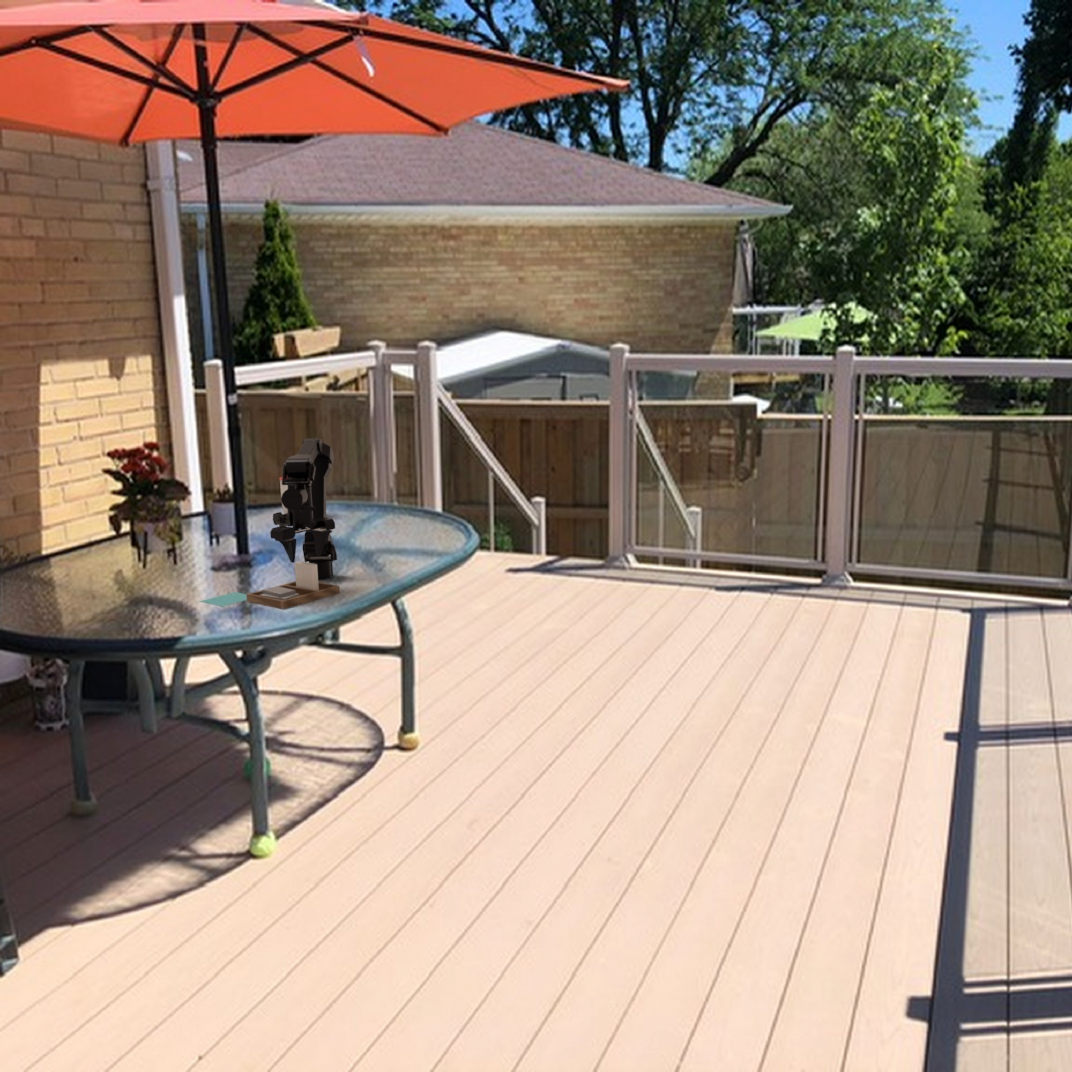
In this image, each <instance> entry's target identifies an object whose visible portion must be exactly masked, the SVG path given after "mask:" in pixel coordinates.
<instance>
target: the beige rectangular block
mask: <svg viewBox="0 0 1072 1072" xmlns="http://www.w3.org/2000/svg"><path fill="white" fill-rule="evenodd" d="M294 572H295V573H294V575H295V581H296V587H301V588H306V589H311V590H316V591H319V585H318V582H319V580H318V570H317V564H313V563H309V562H305V561H300V560H299V561H296V562H295V561H294Z"/></svg>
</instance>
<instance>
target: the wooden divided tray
mask: <svg viewBox="0 0 1072 1072" xmlns="http://www.w3.org/2000/svg"><path fill="white" fill-rule="evenodd" d="M318 585H319V591H316V590H311V589H306V588H301V587H296V580H295V581H292V582H287V583H284V584H280V585H278V586H279V587H283V588H287V589H292V590H295V593H296V594H299V596H297V597H294V598H290V599H287V600H279V599H274V598H269V597H264V596H260V595H261V594H263V593H262V590H263V589H261V590H257V591H254V592H250V593H247V594H246V593H245V594H246V596H247V600H246V602H248V603H252V604H256V605H262V606H266V607H271V608H275V609H280V610H285V609H289V608H292V607H295V606H296V607H298V606H300V605H303V604H306V603H310V602H313V601H317V600H320V599H323V598H328V597H331V596H335V595H339V594H340V593H341V592H340V590H341V589H340V585H337V584H330V583H325V582H320V581H318Z"/></svg>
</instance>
